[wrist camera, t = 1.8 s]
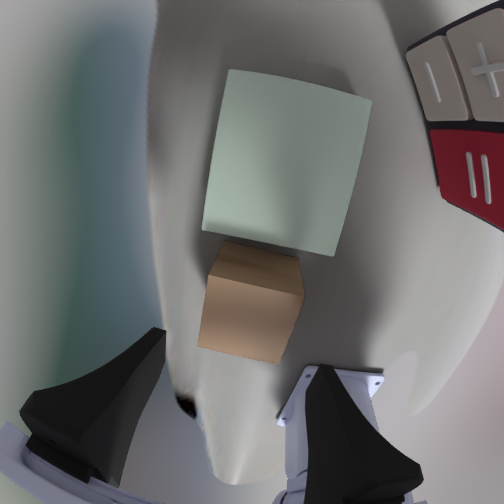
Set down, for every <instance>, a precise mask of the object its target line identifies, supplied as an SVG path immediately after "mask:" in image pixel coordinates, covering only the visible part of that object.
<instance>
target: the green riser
mask: <svg viewBox="0 0 504 504" xmlns="http://www.w3.org/2000/svg"><path fill="white" fill-rule="evenodd" d="M372 102H373V101H371V100H368V99H365V98H362V97H359V96H356V95H353V94H349V93H346V92H343V91H339V90H336V89H332V88H328V87H325V86H321V85H317V84H313V83H309V82H304V81H300V80H295V79H291V78H286V77H281V76H275V75H270V74H264V73H257V72H250V71H243V70H235V69H229V71H228V75H227V80H226V85H225V90H224V95H223V100H222V105H221V110H220V115H219V121H218V126H217V132H216V137H215V143H214V149H213V155H212V161H211V167H210V174H209V180H208V187H207V193H206V200H205V207H204V215H203V222H202V230H205V231H210V232H215V233H220V234H225V235H230V236H235V237H240V238H245V239H250V240H255V241H260V242H265V243H270V244H274V245H279V246H284V247H289V248H294V249H299V250H303V251H308V252H313V253H318V254H322V255H327V256H332V257H334V254H335V251H336V248H337V245H338V241H339V238H340V235H341V231H342V228H343V224H344V221H345V217H346V214H347V210H348V207H349V203H350V199H351V195H352V192H353V188H354V184H355V180H356V176H357V172H358V168H359V164H360V159H361V155H362V151H363V146H364V142H365V137H366V132H367V127H368V122H369V117H370V112H371V107H372Z"/></svg>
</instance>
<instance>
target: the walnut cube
mask: <svg viewBox="0 0 504 504" xmlns="http://www.w3.org/2000/svg"><path fill="white" fill-rule="evenodd" d="M304 298H305V293H304V287H303V281H302V275H301V270H300V264H299V258H296V257H292V256H287V255H283V254H279V253H275V252H270V251H266V250H262V249H258V248H253V247H249V246H245V245H241V244H236V243H232V242H228V241H224V243H223V245H222V247H221V249H220V252H219V254H218V256H217V258H216V260H215V262H214V264H213V266H212V268H211V271H210V273H209V275H208V281H207V287H206V293H205V299H204V306H203V312H202V319H201V325H200V332H199V339H198V347H202V348H206V349H210V350H214V351H218V352H222V353H227V354H231V355H235V356H240V357H245V358H249V359H254V360H259V361H264V362H270V363H275V364H279V363H280V360H281V358H282V355H283V353H284V350H285V348H286V345H287V343H288V340H289V338H290V335H291V333H292V330H293V328H294V325H295V322H296V320H297V317H298V315H299V312H300V309H301V307H302V304H303V301H304Z"/></svg>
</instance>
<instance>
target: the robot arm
mask: <svg viewBox="0 0 504 504" xmlns="http://www.w3.org/2000/svg"><path fill="white" fill-rule="evenodd" d="M165 349H166V331H165V330H162V329H159V328H155V327H153V328H151V330H149V331H148V332H147V333H146V334H145V335H144V336H142V337H141V338H140V339H139V340H138V341H137V342H135V343H134V344H133V345H132V346H130V347H129V348H128V349H127V350H125V351H124V352H123V353H121V354H120V355H118V356H117V357H116V358H114V359H112V360H111V361H110V362H108V363H107V364H105V365H103V366H101V367H100V368H98V369H96V370H95V371H93V372H91V373H88V374H86V375H84V376H82V377H80V378H78V379H75V380H73V381H70V382H67V383H65V384H61V385H58V386H55V387H51V388H47V389H43V390H38V391H34V392H33V393H32V394H31V395H30V397H29V398H28V399H27V401H26V402H25V404H24V405H23V407H22V408H21V410H20V411H19V412H20V416H21V418H22V420H23V421H24V422H25V424H26V425H27V427H28V428H29V429H30V431H31V432H32V435H31V437H30V438H29V437H28V436H27V435H26V434H25V433H24V432H22V431H21V430H20V429H18V428H17V427H15V426H14V425H13V424H11V423H10V422H9V421H6V422H5V423H4V425H3V426H2V428H1V429H0V471H1V472H2V473H3V474H4V475H5V476H7V477H8V478H9V479H11V480H12V481H13V482H14V483H16V484H17V485H18V486H20V487H21V488H22V489H24V490H25V491H27V492H28V493H29V494H31V495H32V496H34V497H35V498H37V499H38V500H40V501H41V502H43V503H44V504H163V503H160V502H156V501H153V500H150V499H146V498H144V497H141V496H138V495H135V494H132V493H129V492H127V491H124V490H122V489H119V488H118V487H119V485H120V481H121V477H122V473H123V468H124V465H125V461H126V457H127V454H128V450H129V447H130V444H131V441H132V438H133V435H134V432H135V428H136V426H137V423H138V420H139V418H140V416H141V413H142V411H143V409H144V407H145V405H146V403H147V401H148V399H149V397H150V395H151V393H152V391H153V389H154V387H155V385H156V383H157V381H158V379H159V377H160V374H161V371H162V368H163V366H164V363H165ZM307 374H310V375H307ZM384 379H385V376H384V375H383V374H379V373H367V372H357V371H348V370H340V369H334V368H333V366H331V365H323V364H320V365H319V367H317V366H307V367H306V368H305V369H304V371H303V373H302V375H301V377H300V379H299V381H298V382H297V384H296V386H295V388H294V390H293V392H292V394H291V396H290V398H289V400H288V401H287V403H286V405H285V407H284V409H283V410H282V412H281V414H280V416H279V418H278V419H277V425H280V426H286V434H285V471H286V475H287V478H288V480H287V490H283V491H281V492H280V493H279V494H278V495H277V496H276V498H275V500H274V502H273V503H272V504H427V501H421V502H418V503H414V502H413V497H412V492H411V491H412V490H413V489H415V488H416V487H418V486H419V485H420V484H421V483H422V482H423V480H424V478H423V475H422V471H421V467H420V464H418V463H416V462H415V461H413V460H412V459H410V458H408V457H407V456H405V455H404V454H403V453H401V452H400V451H399V450H397V449H396V448H395V447H393V446H392V445H391V444H390V443H389V442H388V441H387V440H386V439H385V438H384V437H382V435H380V433H379V429H378V425H377V421H376V417H375V414H374V409H373V406H372V402H371V397H372V396H373V395H374V393H375V392H376V391H377V389H378V388H379V387H380V385H381V384H382V382H383V381H384Z"/></svg>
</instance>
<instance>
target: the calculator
mask: <svg viewBox="0 0 504 504" xmlns="http://www.w3.org/2000/svg"><path fill="white" fill-rule="evenodd" d="M407 51H408V52H407V53H406V54H405V55H406V59H407V62H408V64H409V67H410V70H411V72H412V75H413V78H414V81H415V84H416V87H417V90H418V93H419V96H420V99H421V103H422V106H423V110H424V113H425V117H426V119H427V120H428V121H430V123H431V127H432V130H430V137H431V141H432V146H433V151H434V156H435V161H436V166H437V172H438V178H439V185H440V192H441V197H442V198H443V199H445V200H446V201H447V202H448V203H450V204H452V205H454V206H456V207H458V208H460V209H462V210H464V211H466V212H468V213H470V214H472V215H474V216H475V217H477V218H479V219H481V220H483V221H485V222H487V223H488V224H490V225H492V226H494V227H495V228H497V229H499V230H501V231H502V232H504V0H499V1H496V2H494V3H492V4H489V5H487V6H485V7H483V8H481V9H478V10H476V11H474V12H472V13H470V14H468V15H466V16H464V17H462V18H460V19H458V20H456V21H454V22H452V23H450V24H448V25H447V26H445V27H443V28H441V29H439V30H437V31H435V32H434V33H432V34H430V35H428V36H427V37H425V38H423V39H421V40H420V41H418V42H416V43H414V44H413V45H411V46H409V47H408V50H407Z"/></svg>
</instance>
